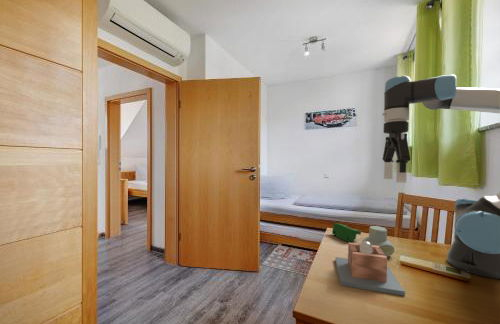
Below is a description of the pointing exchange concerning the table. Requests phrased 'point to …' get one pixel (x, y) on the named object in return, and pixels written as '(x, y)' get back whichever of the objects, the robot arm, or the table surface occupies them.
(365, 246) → the steel post
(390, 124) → the robot arm
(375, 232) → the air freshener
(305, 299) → the table surface
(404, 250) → the table surface
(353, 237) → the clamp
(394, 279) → the post board
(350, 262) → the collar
